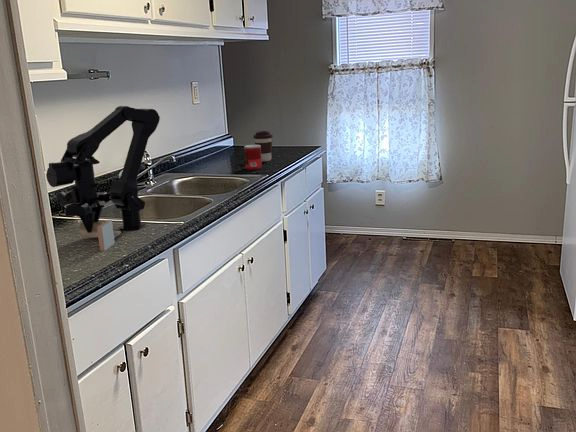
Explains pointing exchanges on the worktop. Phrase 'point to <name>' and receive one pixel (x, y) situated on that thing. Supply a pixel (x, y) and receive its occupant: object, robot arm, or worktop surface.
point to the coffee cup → (264, 144)
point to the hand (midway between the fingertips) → (91, 231)
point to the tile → (105, 235)
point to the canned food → (253, 157)
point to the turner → (94, 230)
